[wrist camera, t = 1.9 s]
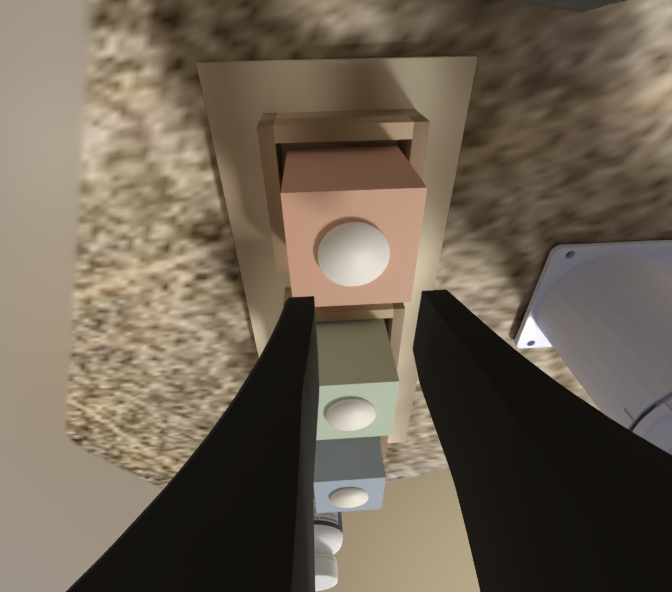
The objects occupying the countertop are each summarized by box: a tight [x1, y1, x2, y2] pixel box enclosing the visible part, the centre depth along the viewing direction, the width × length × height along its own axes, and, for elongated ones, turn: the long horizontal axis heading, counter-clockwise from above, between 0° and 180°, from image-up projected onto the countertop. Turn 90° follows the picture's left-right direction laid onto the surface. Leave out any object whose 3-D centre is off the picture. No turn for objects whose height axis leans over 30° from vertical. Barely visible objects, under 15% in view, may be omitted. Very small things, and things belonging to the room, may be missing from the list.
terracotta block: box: [280, 146, 427, 307], centre depth 14 cm, size 4×4×5 cm
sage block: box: [316, 318, 400, 440], centre depth 19 cm, size 4×4×5 cm
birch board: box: [196, 55, 478, 460], centre depth 22 cm, size 11×28×3 cm, turn 1°
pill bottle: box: [313, 492, 343, 591], centre depth 31 cm, size 5×5×9 cm
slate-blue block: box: [314, 436, 386, 513], centre depth 25 cm, size 4×4×5 cm
